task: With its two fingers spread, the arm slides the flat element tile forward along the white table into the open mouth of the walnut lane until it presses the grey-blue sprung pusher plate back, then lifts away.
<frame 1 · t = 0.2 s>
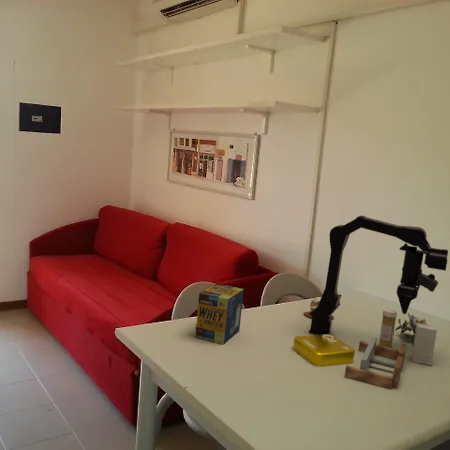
hand: (405, 310, 166), 15 cm above the table, tool pointing down, fingers open, 9 cm apart
element tile: (322, 356, 159), on the table
passion flower: (409, 340, 181), on the table
pusher: (383, 360, 151), point 3 cm above the table, slide at 0.0 cm
protein box: (218, 335, 169), on the table
skincare box: (421, 362, 161), on the table
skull: (318, 317, 199), on the table
sprinkles bottle: (384, 348, 171), on the table
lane: (373, 367, 153), on the table
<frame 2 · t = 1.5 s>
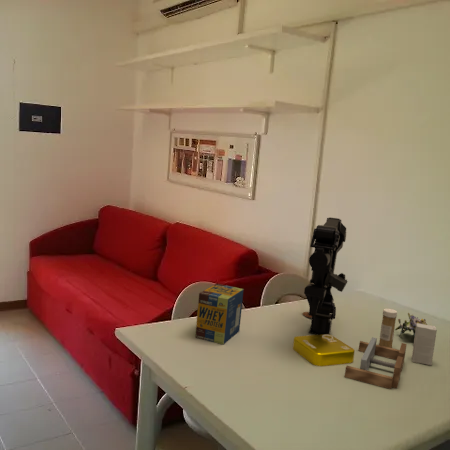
hand: (316, 310, 163), 13 cm above the table, tool pointing down, fingers open, 9 cm apart
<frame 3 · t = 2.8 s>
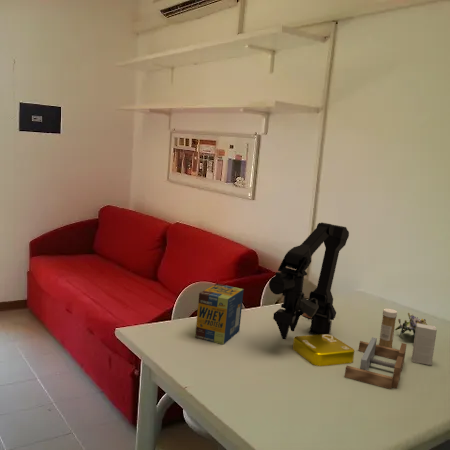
hand: (288, 335, 164), 4 cm above the table, tool pointing down, fingers open, 9 cm apart
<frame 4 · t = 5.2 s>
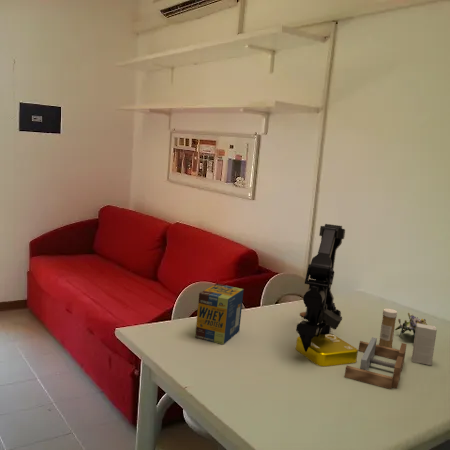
hand: (310, 347, 161), 2 cm above the table, tool pointing down, fingers open, 9 cm apart
element tile: (325, 356, 160), on the table, touching gripper
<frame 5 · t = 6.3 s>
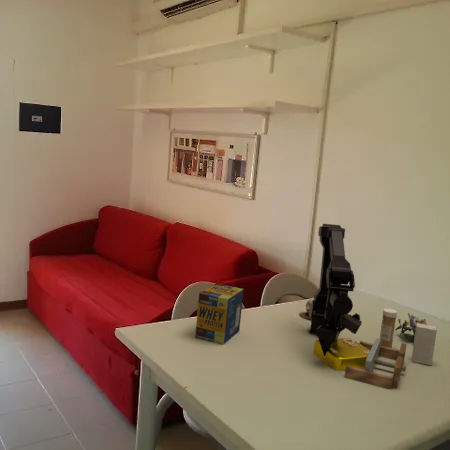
hand: (329, 351, 158), 2 cm above the table, tool pointing down
element tile: (343, 360, 158), on the table, touching gripper
pusher: (387, 361, 151), point 3 cm above the table, slide at 1.3 cm
when the fingers open (2 cm above the table, at t = 7.2 s): element tile stays where it is, on the table.
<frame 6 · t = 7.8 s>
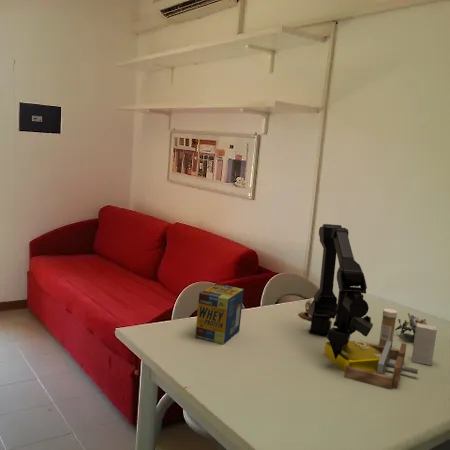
hand: (340, 354, 157), 2 cm above the table, tool pointing down, fingers open, 9 cm apart
element tile: (354, 363, 156), on the table
pusher: (399, 364, 150), point 3 cm above the table, slide at 4.8 cm
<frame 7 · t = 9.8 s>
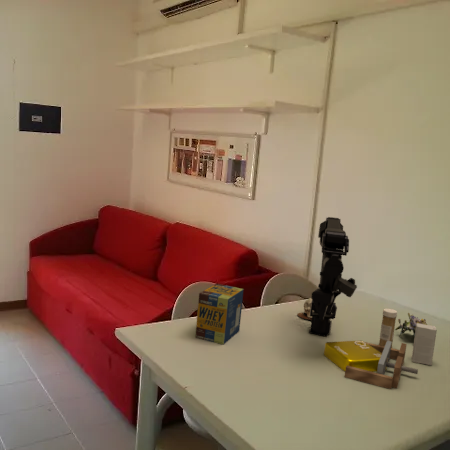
hand: (325, 315, 161), 12 cm above the table, tool pointing down, fingers open, 9 cm apart
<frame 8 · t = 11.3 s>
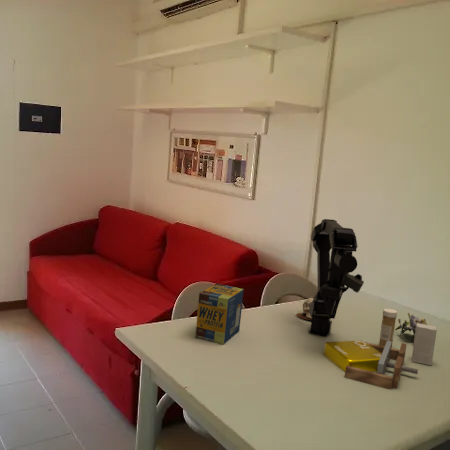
hand: (332, 311, 165), 13 cm above the table, tool pointing down, fingers open, 9 cm apart
at the end: pusher slide at 4.8 cm; element tile inside the target area (2.3 cm from its centre), on the table; element tile moved 10.0 cm from its start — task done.
